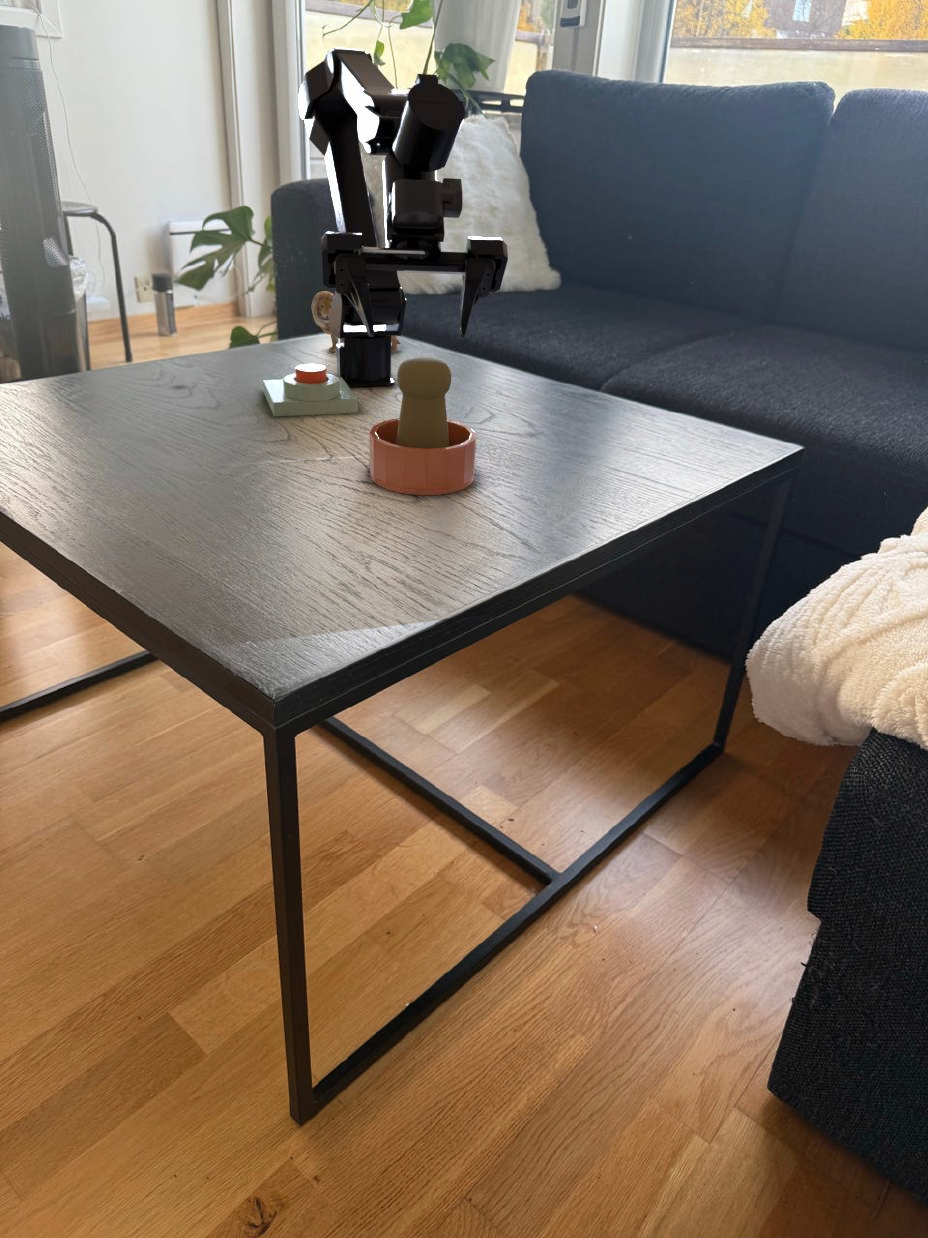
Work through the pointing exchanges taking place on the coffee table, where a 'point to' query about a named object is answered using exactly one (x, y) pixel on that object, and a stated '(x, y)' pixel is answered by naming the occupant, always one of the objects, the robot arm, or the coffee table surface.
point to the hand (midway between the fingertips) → (417, 335)
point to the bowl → (422, 461)
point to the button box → (309, 396)
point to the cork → (423, 403)
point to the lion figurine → (321, 317)
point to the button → (311, 373)
